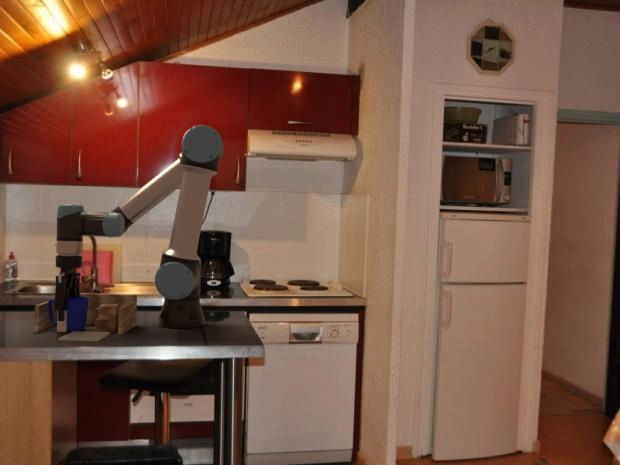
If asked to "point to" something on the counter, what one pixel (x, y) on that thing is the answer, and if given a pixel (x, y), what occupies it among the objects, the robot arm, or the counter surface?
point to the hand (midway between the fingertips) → (66, 329)
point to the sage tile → (84, 336)
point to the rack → (94, 311)
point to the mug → (73, 313)
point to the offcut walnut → (106, 325)
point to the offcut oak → (108, 311)
